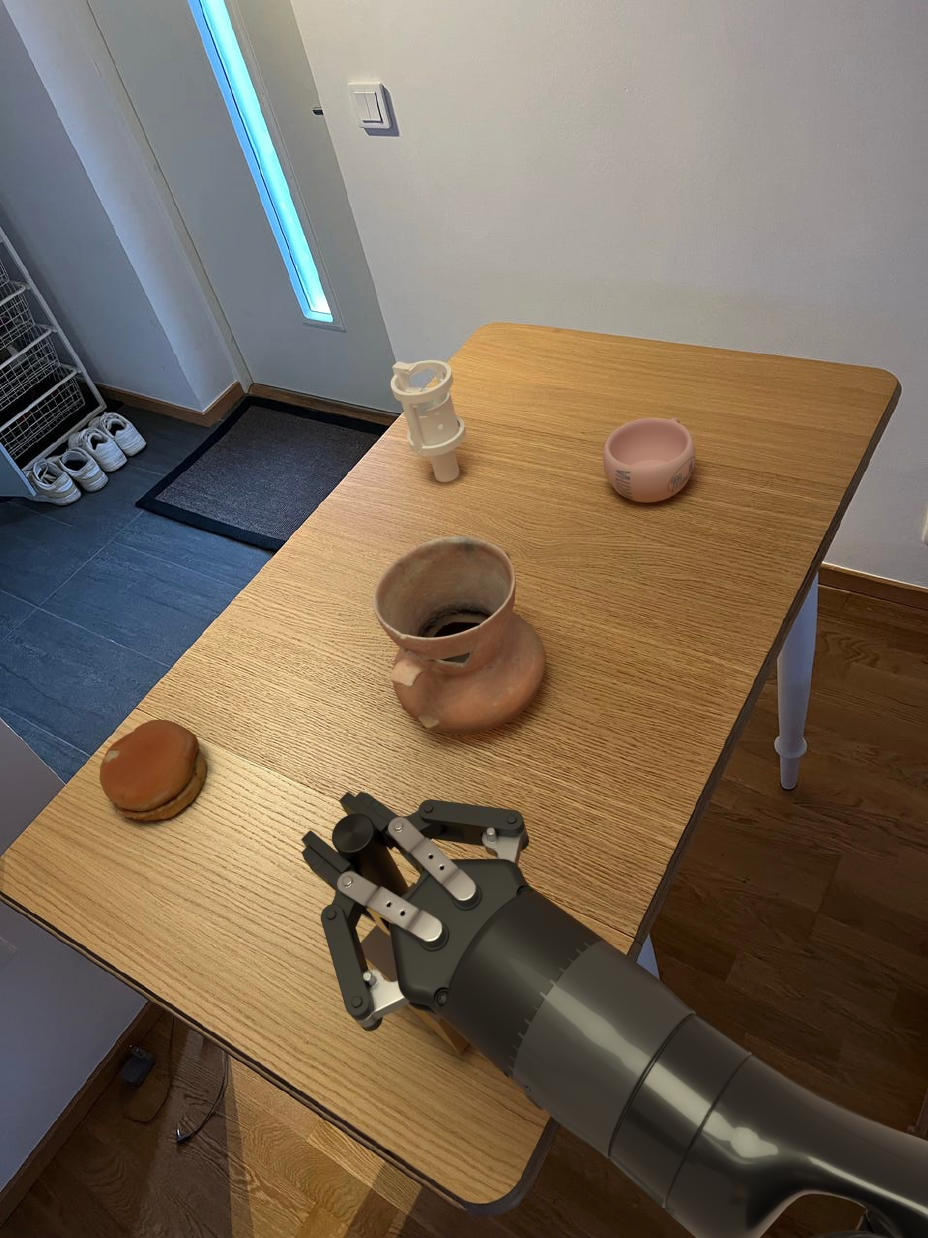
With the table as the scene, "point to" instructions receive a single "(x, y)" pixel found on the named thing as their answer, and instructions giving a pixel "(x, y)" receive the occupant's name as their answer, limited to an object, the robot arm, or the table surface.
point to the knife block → (382, 960)
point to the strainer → (430, 416)
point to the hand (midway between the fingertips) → (329, 823)
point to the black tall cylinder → (368, 852)
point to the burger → (153, 771)
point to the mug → (649, 458)
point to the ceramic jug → (458, 636)
